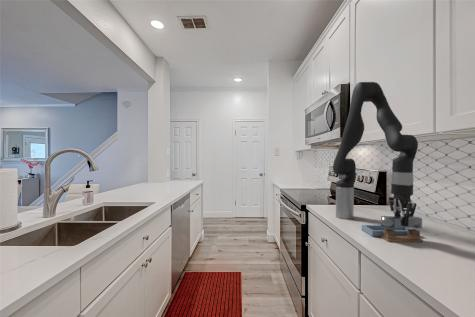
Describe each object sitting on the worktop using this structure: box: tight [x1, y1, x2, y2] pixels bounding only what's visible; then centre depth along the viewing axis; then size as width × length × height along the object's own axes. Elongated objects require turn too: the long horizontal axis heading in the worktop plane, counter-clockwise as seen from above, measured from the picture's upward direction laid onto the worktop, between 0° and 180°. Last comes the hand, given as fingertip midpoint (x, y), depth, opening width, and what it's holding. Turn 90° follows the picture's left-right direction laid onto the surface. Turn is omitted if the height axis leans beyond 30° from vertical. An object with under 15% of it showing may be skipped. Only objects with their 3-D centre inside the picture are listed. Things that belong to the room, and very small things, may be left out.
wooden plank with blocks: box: [380, 228, 424, 243], centre depth 100 cm, size 5×14×4 cm, turn 90°
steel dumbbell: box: [380, 215, 423, 229], centre depth 101 cm, size 5×16×4 cm, turn 90°
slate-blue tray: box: [361, 224, 414, 238], centre depth 108 cm, size 9×20×2 cm, turn 90°
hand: (401, 224), depth 101 cm, fingers closed on steel dumbbell, 4 cm apart
